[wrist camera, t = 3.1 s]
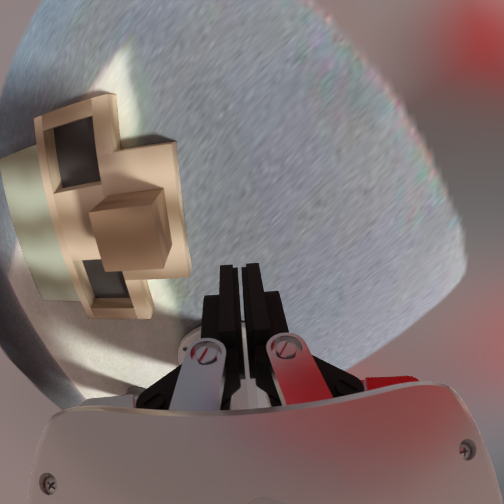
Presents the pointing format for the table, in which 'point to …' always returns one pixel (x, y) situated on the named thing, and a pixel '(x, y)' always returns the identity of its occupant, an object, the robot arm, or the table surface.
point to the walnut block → (132, 230)
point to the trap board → (88, 207)
